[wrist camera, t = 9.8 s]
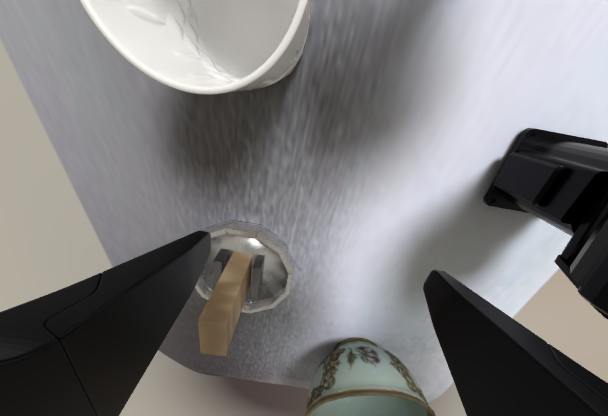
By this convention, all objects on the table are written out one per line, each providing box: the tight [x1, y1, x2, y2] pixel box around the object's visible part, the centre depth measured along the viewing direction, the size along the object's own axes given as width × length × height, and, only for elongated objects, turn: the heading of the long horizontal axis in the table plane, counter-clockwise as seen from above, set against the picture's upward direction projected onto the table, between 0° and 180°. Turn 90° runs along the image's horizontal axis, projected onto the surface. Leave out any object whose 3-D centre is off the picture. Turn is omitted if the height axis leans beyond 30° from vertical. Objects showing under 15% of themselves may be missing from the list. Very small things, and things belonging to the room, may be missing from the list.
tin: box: [195, 220, 295, 313], centre depth 24 cm, size 11×11×2 cm
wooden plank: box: [198, 252, 253, 356], centre depth 21 cm, size 2×4×8 cm, turn 171°
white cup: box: [80, 0, 312, 94], centre depth 11 cm, size 8×8×10 cm
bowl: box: [305, 338, 435, 416], centre depth 27 cm, size 14×13×8 cm
